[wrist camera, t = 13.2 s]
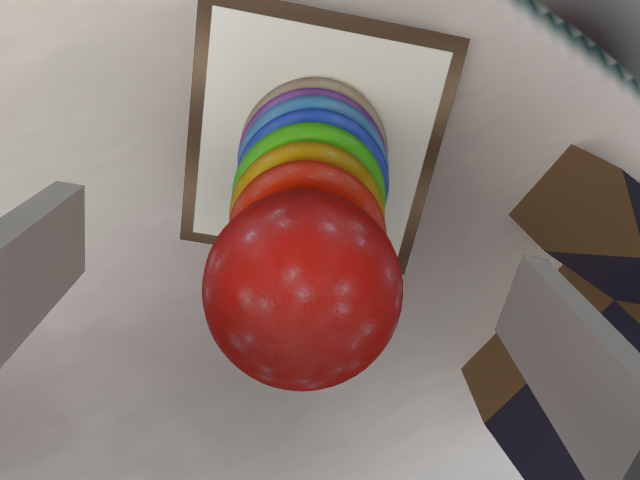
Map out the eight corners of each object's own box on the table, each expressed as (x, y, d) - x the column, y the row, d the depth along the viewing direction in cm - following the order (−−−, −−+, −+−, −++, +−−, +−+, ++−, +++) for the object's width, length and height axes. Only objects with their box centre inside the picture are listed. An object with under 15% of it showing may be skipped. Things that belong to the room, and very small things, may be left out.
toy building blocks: (689, 237, 38) (1271, 580, 15) (515, 400, 44) (736, 820, 21) (571, 144, 35) (1072, 393, 12) (402, 333, 41) (517, 738, 18)
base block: (390, 236, 37) (405, 277, 31) (200, 205, 36) (178, 242, 30) (443, 35, 32) (472, 39, 26) (219, -10, 30) (197, -16, 25)
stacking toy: (409, 107, 27) (574, 261, 10) (352, 235, 30) (403, 523, 13) (269, 51, 26) (182, 116, 9) (224, 190, 29) (93, 443, 12)
